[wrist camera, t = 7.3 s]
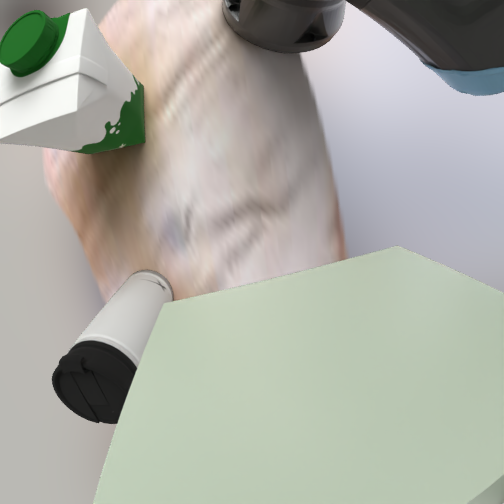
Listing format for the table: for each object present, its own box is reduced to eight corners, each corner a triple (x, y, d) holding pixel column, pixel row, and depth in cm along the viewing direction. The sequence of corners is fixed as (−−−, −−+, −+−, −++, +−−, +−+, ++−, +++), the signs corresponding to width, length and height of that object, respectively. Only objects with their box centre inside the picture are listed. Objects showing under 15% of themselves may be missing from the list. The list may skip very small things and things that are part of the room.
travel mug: (167, 262, 33) (111, 359, 14) (178, 313, 35) (147, 436, 16) (118, 270, 33) (32, 360, 14) (132, 319, 35) (73, 432, 15)
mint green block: (163, 303, 11) (78, 564, 1) (397, 245, 12) (603, 349, 2) (227, 455, 14) (244, 610, 4) (393, 407, 14) (477, 526, 4)
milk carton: (151, 77, 28) (86, -17, 9) (153, 150, 30) (68, 113, 11) (84, 93, 27) (-18, 35, 8) (85, 163, 30) (-35, 156, 10)
